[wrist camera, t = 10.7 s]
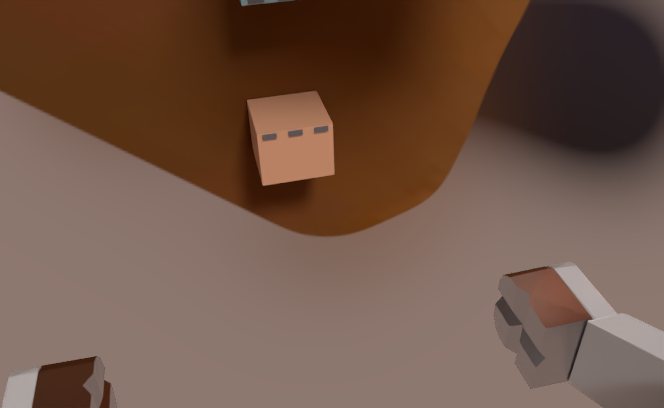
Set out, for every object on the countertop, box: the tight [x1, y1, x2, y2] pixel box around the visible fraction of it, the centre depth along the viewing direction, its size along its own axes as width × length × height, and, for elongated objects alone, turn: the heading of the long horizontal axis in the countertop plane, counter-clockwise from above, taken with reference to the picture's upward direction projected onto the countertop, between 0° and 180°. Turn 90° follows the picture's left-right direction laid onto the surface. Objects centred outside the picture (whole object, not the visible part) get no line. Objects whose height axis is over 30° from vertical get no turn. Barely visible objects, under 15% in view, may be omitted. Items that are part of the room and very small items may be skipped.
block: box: [247, 91, 334, 186], centre depth 43 cm, size 5×4×5 cm
